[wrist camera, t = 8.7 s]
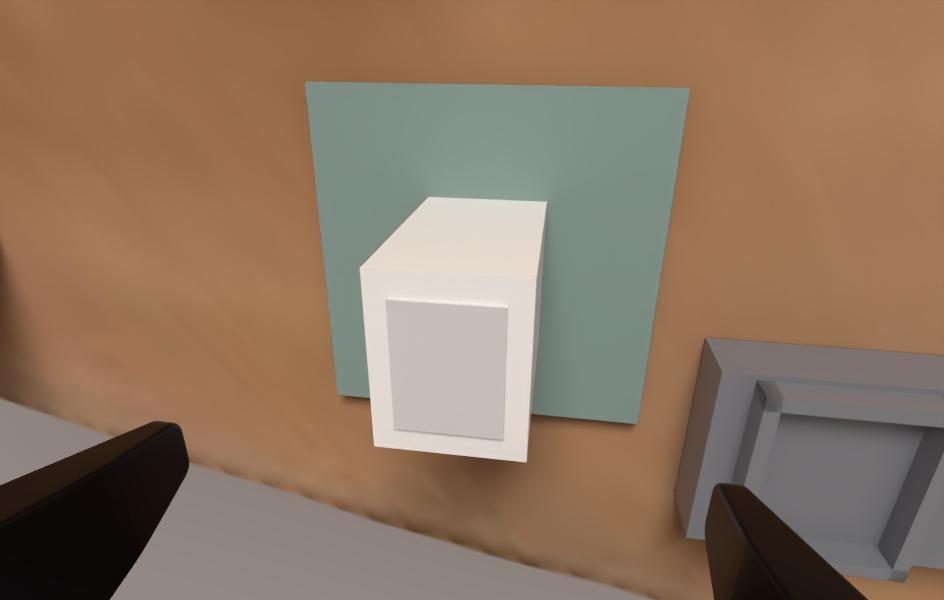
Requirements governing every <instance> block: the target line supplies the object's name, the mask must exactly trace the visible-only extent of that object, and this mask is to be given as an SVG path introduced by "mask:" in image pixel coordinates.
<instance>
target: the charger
mask: <svg viewBox="0 0 944 600" xmlns="http://www.w3.org/2000/svg"><path fill="white" fill-rule="evenodd" d="M546 209H547V202H541V201H517V200H492V199H468V198H443V197H428V198H427V199H426V200H425V201H424V202H423V203H422V204H421V205H420V206H419V207H418V208H417V209H416V211H415V212H414V213H413V214H412V215H411V216H410V217H409V218H408V219H407V220H406V221H405V222H404V223H403V224H402V225H401V226H400V227H399V228H398V229H397V230H396V231H395V232H394V233H393V234H392V235H391V236H390V237H389V238H388V239H387V240H386V241H385V242H384V243H383V245H382V246H381V247H380V248H379V249H378V250H377V251H376V252H375V253H374V254H373V255H372V256H371V257H370V258H369V259H368V260H367V261H366V262H365V263H364V264H363V265H362V266H361V267H360V279H361V291H362V303H363V316H364V328H365V340H366V352H367V364H368V376H369V388H370V400H371V412H372V424H373V437H374V446H377V447H386V448H395V449H405V450H414V451H424V452H433V453H443V454H452V455H461V456H471V457H480V458H490V459H499V460H509V461H518V462H527V452H528V442H529V432H530V422H531V412H532V402H533V391H534V381H535V371H536V361H537V351H538V341H539V327H540V310H541V293H542V276H543V259H544V242H545V226H546Z"/></svg>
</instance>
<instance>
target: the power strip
mask: <svg viewBox="0 0 944 600" xmlns="http://www.w3.org/2000/svg"><path fill="white" fill-rule="evenodd" d="M717 483H730V484H739V485H743V486H745V487H747V488H748V489H749V490H750V491H751V492H752V493H753V494H755V495H756V496H757V497H758V498H759V499H760V500H761V501H762V502H763V503H764V504H765V505H766V506H768V507H769V508H770V509H771V510H772V511H773V512H774V513H775V514H776V515H777V516H778V517H779V518H780V519H782V520H783V521H784V522H785V523H786V524H787V525H788V526H789V527H790V528H791V529H792V530H793V531H795V532H796V533H797V534H798V535H799V536H800V537H801V538H802V539H803V540H804V541H805V542H806V543H807V544H809V545H810V546H811V547H812V548H813V549H814V550H815V551H816V552H817V553H818V554H819V555H820V556H822V557H823V558H824V559H825V560H826V561H827V562H828V563H829V564H830V565H831V566H832V567H833V568H834V569H836V570H837V571H838V572H839V573H840V574H841V575H848V576H856V577H864V578H872V579H880V580H887V581H895V582H903V583H904V581H905V579H906V577H907V575H908V573H909V570H910V568H911V566H919V567H927V568H935V569H943V570H944V356H943V355H930V354H916V353H903V352H890V351H877V350H864V349H850V348H837V347H824V346H811V345H798V344H784V343H771V342H758V341H745V340H732V339H718V338H705V343H704V348H703V353H702V358H701V363H700V368H699V373H698V378H697V383H696V388H695V393H694V398H693V403H692V408H691V413H690V418H689V423H688V428H687V433H686V438H685V443H684V448H683V453H682V457H681V462H680V467H679V472H678V477H677V482H676V487H675V496H676V500H677V504H678V508H679V512H680V516H681V520H682V524H683V529H684V533H685V537H686V538H692V539H700V540H705V521H706V516H707V512H708V508H709V503H710V499H711V495H712V491H713V488H714V486H715V484H717Z"/></svg>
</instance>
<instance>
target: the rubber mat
mask: <svg viewBox="0 0 944 600" xmlns="http://www.w3.org/2000/svg"><path fill="white" fill-rule="evenodd" d="M305 88H306V97H307V107H308V116H309V126H310V135H311V145H312V154H313V164H314V173H315V183H316V192H317V202H318V211H319V221H320V230H321V240H322V249H323V259H324V268H325V278H326V287H327V297H328V306H329V316H330V325H331V335H332V345H333V354H334V364H335V373H336V383H337V392H338V395H344V396H355V397H365V398H370V388H369V376H368V364H367V352H366V340H365V328H364V316H363V303H362V291H361V279H360V267H361V266H362V265H363V264H364V263H365V262H366V261H367V260H368V259H369V258H370V257H371V256H372V255H373V254H374V253H375V252H376V251H377V250H378V249H379V248H380V247H381V246H382V245H383V243H384V242H385V241H386V240H387V239H388V238H389V237H390V236H391V235H392V234H393V233H394V232H395V231H396V230H397V229H398V228H399V227H400V226H401V225H402V224H403V223H404V222H405V221H406V220H407V219H408V218H409V217H410V216H411V215H412V214H413V213H414V212H415V211H416V209H417V208H418V207H419V206H420V205H421V204H422V203H423V202H424V201H425V200H426V199H427V198H428V197H443V198H468V199H492V200H517V201H541V202H547V209H546V226H545V242H544V259H543V276H542V293H541V310H540V327H539V341H538V351H537V361H536V371H535V381H534V391H533V402H532V412H531V414H539V415H549V416H559V417H569V418H580V419H590V420H600V421H610V422H621V423H631V424H638V419H639V412H640V406H641V399H642V393H643V387H644V380H645V374H646V367H647V361H648V355H649V348H650V342H651V335H652V329H653V323H654V316H655V310H656V304H657V297H658V291H659V284H660V278H661V272H662V265H663V259H664V252H665V246H666V240H667V233H668V227H669V220H670V214H671V208H672V201H673V195H674V188H675V182H676V176H677V169H678V163H679V156H680V150H681V144H682V137H683V131H684V124H685V118H686V112H687V105H688V99H689V92H690V89H689V88H670V87H611V86H552V85H493V84H434V83H375V82H317V81H312V82H305Z"/></svg>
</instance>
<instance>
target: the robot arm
mask: <svg viewBox="0 0 944 600" xmlns="http://www.w3.org/2000/svg"><path fill="white" fill-rule="evenodd" d="M188 468H189V457H188V453H187V449H186V445H185V441H184V437H183V433H182V430H181V428H180V426H179V425H178V424H176V423H171V422H162V421H154V422H151V423H148V424H146V425H143V426H141V427H139V428H136V429H134V430H131V431H129V432H127V433H124V434H122V435H119V436H117V437H115V438H112V439H110V440H107V441H105V442H103V443H101V444H98V445H96V446H93V447H91V448H89V449H86V450H84V451H81V452H79V453H76V454H74V455H72V456H69V457H67V458H65V459H62V460H60V461H57V462H55V463H53V464H50V465H48V466H45V467H43V468H41V469H38V470H36V471H33V472H31V473H29V474H26V475H24V476H22V477H19V478H17V479H14V480H12V481H10V482H7V483H5V484H3V485H0V600H110V599H111V597H112V596H113V594H114V593H115V591H116V590H117V588H118V587H119V586H120V584H121V583H122V581H123V580H124V578H125V577H126V576H127V574H128V573H129V571H130V570H131V568H132V567H133V565H134V564H135V562H136V561H137V559H138V558H139V556H140V555H141V553H142V552H143V550H144V548H145V546H146V545H147V543H148V541H149V540H150V538H151V536H152V534H153V533H154V531H155V529H156V528H157V526H158V524H159V522H160V521H161V519H162V517H163V515H164V513H165V512H166V510H167V508H168V506H169V505H170V503H171V501H172V499H173V498H174V496H175V494H176V492H177V490H178V489H179V487H180V485H181V483H182V482H183V480H184V478H185V476H186V474H187V471H188ZM705 542H706V548H707V555H708V562H709V568H710V575H711V582H712V588H713V595H714V600H868V599H867V598H866V597H865V596H864V595H863V594H861V593H860V592H859V591H858V590H857V589H856V588H855V587H854V586H853V585H852V584H851V583H850V582H849V581H847V580H846V579H845V578H844V577H843V576H842V575H841V574H840V573H839V572H838V571H837V570H836V569H834V568H833V567H832V566H831V565H830V564H829V563H828V562H827V561H826V560H825V559H824V558H823V557H822V556H820V555H819V554H818V553H817V552H816V551H815V550H814V549H813V548H812V547H811V546H810V545H809V544H807V543H806V542H805V541H804V540H803V539H802V538H801V537H800V536H799V535H798V534H797V533H796V532H795V531H793V530H792V529H791V528H790V527H789V526H788V525H787V524H786V523H785V522H784V521H783V520H782V519H780V518H779V517H778V516H777V515H776V514H775V513H774V512H773V511H772V510H771V509H770V508H769V507H768V506H766V505H765V504H764V503H763V502H762V501H761V500H760V499H759V498H758V497H757V496H756V495H755V494H753V493H752V492H751V491H750V490H749V489H748V488H747V487H745V486H743V485H739V484H730V483H717V484H715V486H714V488H713V491H712V495H711V499H710V503H709V508H708V512H707V516H706V521H705Z"/></svg>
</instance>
